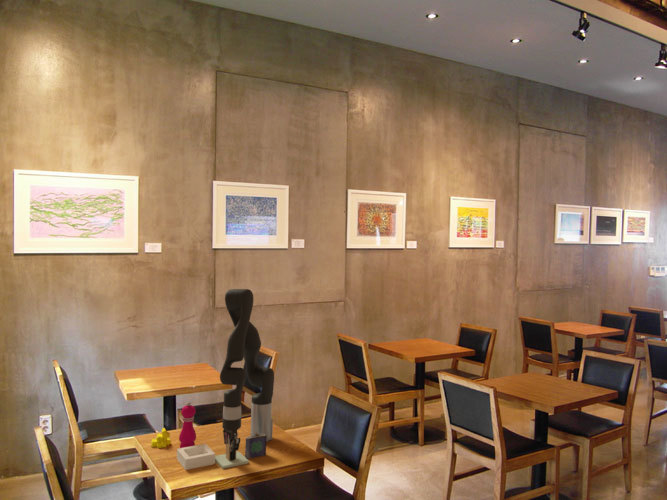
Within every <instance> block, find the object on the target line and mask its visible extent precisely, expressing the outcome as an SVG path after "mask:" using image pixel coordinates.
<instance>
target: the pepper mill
mask: <svg viewBox="0 0 667 500" xmlns="http://www.w3.org/2000/svg"><path fill="white" fill-rule="evenodd" d="M191 404H192V403H191V401H187V402H186V404H185V405H184V406H183V407H182V409H181V411H180V414H181V415H182V418H181V419H182V423H183V424H182V429H181V431H180V433H179V435H178V441H179V442H180V444H179V448H184V447H190V446H195V445H196V443H195V441H196V440H197V433H196V430H195V428H194V421H195V415H196V408H195V406H193V405H191Z"/></svg>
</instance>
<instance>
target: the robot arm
mask: <svg viewBox="0 0 667 500" xmlns="http://www.w3.org/2000/svg"><path fill="white" fill-rule="evenodd" d="M224 303H225V307H226V309H227V312H228V314H229V316H230V318H231V321H232V324H233V326H234V329H233V330H232V331H231V333H230V335H229V338H228V340H227V347H226V355H225V360H224V362H223V366H222V368H221V371H220V374H219V380H220V382H221V384H222V385H227V386H228V385H230V386H236V387H235V388H233V389H228V390H225V391H224V394H223V409H222V425H221V426H222V429H223V430H222V435H223V442H224V445H226V443H229V445H230V460H235V458H236V452H237V451H239V448H240V444H241V437H239V433H238V431H239V429H241V428H242V393H243V389H244V386H245V382H246V379H248V383H249V385H251V386H253V387H256V388H261V391H260V392H258V393H255V394H253V395H252V396H251V403H250V404H251V406H250V408H251V410H250V412H251V413H250V436H253V435H254V432H255V431H257V433H258V434H265V435H266V436H267V437H266V443H268V442H270V441H272V440H273V434H274V433H273V429H274V428H273V426H274V419H273V418H272V403H273V402H272V401H273V396H274V387H275V385H274V384H275V372H274V370H273V368H271V367H268V366H267V367H266V366H260V365H259V364H258V361H257V360H258V359H257V357H258V354H259V353H260V349H261V347H262V341H261V337H260V334H259V331H258V329H257V327H255V325H254V324H253V323H252V322H250V321H251V320H250V319H251V315H252V311H253V306H254V293H253V291H252V290H251V289H248V288H233V289H232V288H231V289H227V290H226V292H225V294H224ZM243 360H244V364H245V368H244V367H235V366H232V365H233V364H234V363H238V362H242V361H243ZM245 369H246V370H245ZM231 442H233V443H231Z"/></svg>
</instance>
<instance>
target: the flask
mask: <svg viewBox="0 0 667 500" xmlns="http://www.w3.org/2000/svg"><path fill="white" fill-rule="evenodd" d="M266 437H267V436H266V435H265V434H258V433H257V431H255V432H254V435H253V436H246V437H245V447H244V448H245V449H244V451H245V454H244V457H245V458H246V459H247V460H250V459H254V458H258V457H265V456H266V454H267V442H266Z"/></svg>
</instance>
